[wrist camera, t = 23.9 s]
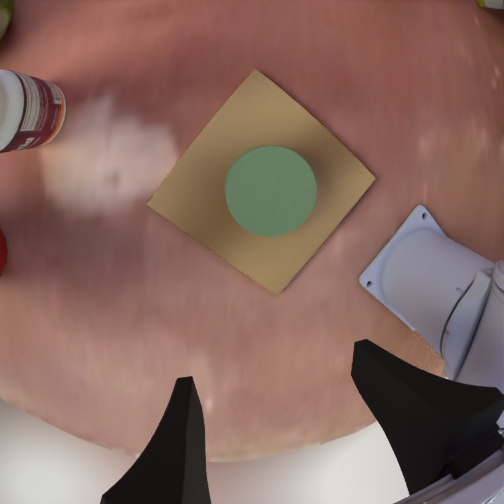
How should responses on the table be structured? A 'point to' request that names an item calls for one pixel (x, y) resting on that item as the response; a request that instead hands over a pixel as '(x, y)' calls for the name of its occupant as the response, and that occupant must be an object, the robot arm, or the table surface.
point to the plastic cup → (2, 252)
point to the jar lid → (270, 190)
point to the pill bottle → (28, 111)
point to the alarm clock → (491, 3)
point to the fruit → (5, 15)
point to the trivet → (223, 155)
